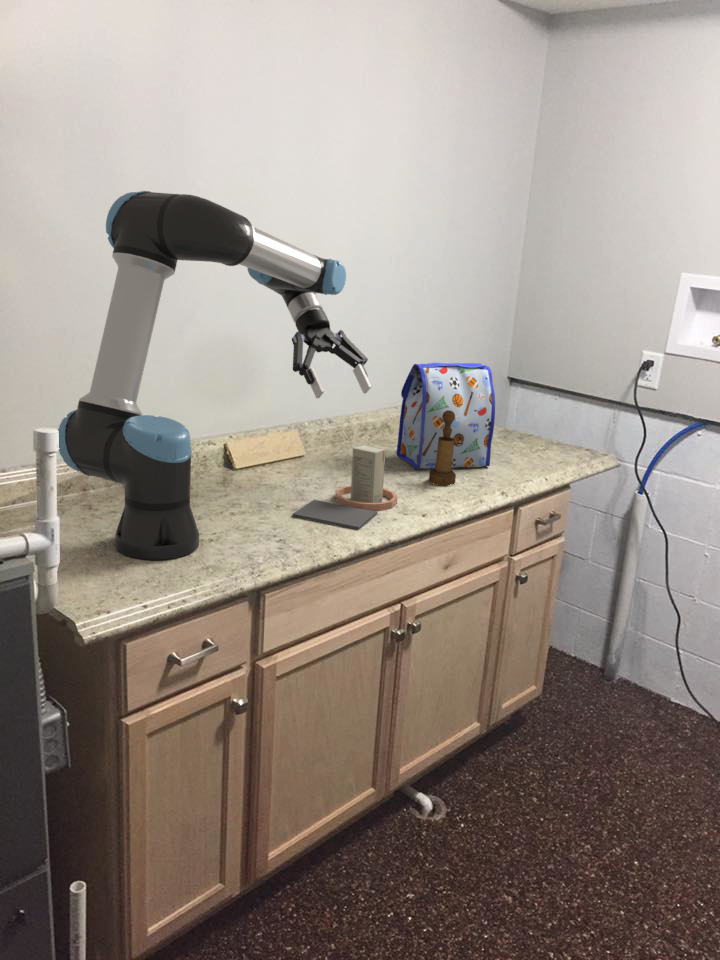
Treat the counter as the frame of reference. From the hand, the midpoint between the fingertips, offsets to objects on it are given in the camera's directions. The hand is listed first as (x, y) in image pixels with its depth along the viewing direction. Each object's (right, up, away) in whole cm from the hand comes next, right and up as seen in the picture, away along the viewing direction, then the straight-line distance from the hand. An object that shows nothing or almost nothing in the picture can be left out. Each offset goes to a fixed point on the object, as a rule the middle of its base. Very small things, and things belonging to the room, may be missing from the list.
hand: (344, 392), depth 191 cm
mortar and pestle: (+24, -21, +16) cm, 35 cm away
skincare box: (+5, -25, -2) cm, 25 cm away
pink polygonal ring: (+5, -25, -2) cm, 25 cm away
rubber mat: (-2, -27, -13) cm, 30 cm away
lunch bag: (+26, -15, +34) cm, 45 cm away
